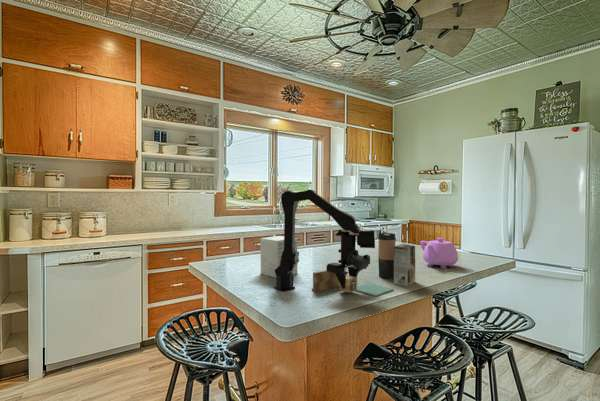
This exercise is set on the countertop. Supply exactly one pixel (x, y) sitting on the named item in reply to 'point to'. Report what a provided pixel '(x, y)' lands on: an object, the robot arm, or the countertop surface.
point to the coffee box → (404, 264)
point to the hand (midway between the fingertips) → (348, 287)
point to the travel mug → (386, 255)
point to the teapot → (439, 253)
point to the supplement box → (272, 254)
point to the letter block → (349, 284)
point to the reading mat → (373, 289)
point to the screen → (324, 280)
